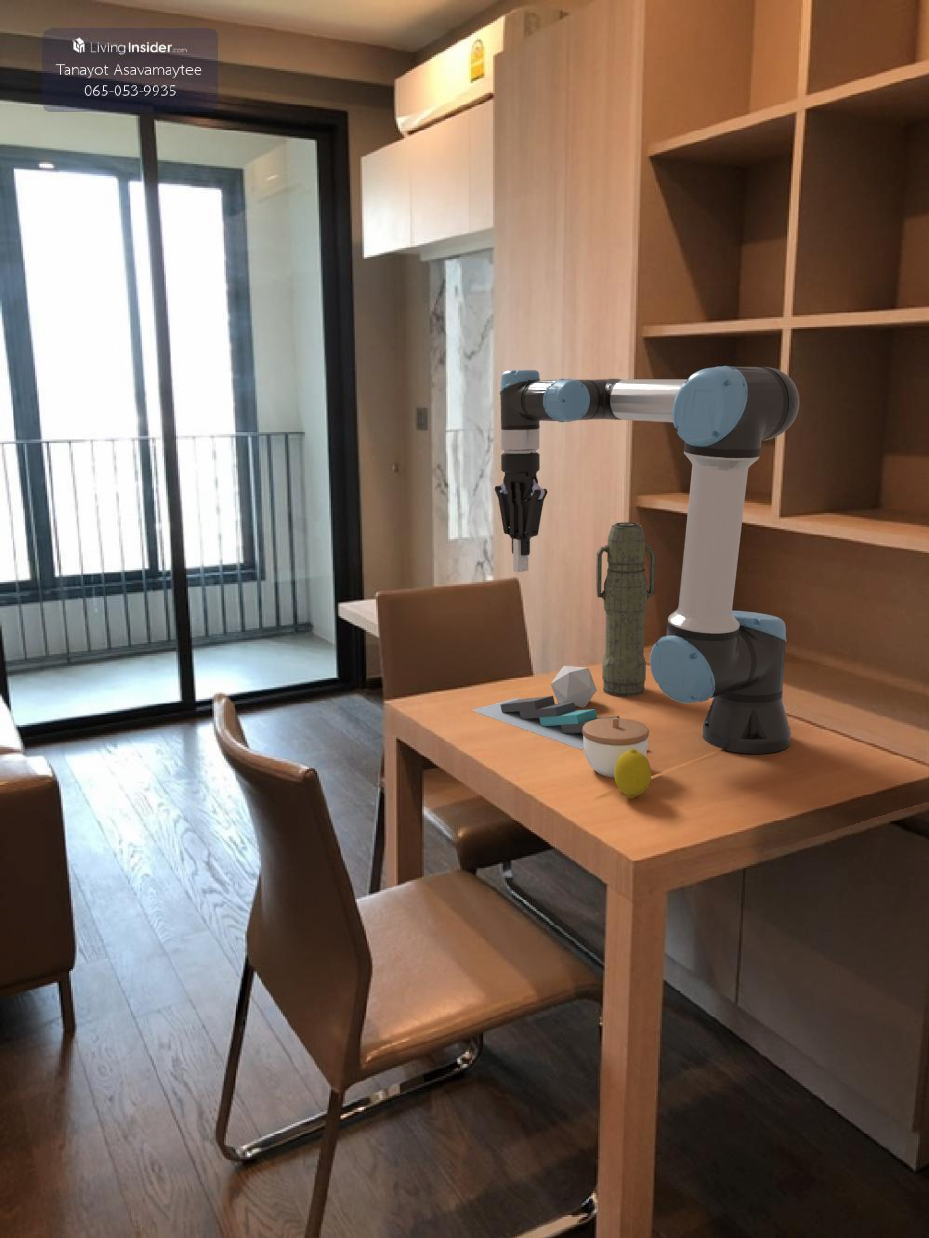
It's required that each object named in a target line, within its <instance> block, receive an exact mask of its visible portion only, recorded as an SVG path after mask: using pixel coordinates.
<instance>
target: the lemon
mask: <svg viewBox="0 0 929 1238" xmlns="http://www.w3.org/2000/svg"><path fill="white" fill-rule="evenodd" d="M649 761H650V760H648V758H647V757H645V755H643V754H642V753H641V752H639V751H636V750H635V749H631V750H630V751H626V752H624V753H623V754H622V755H620V756H619V758H618V760H617V762H616V765H615V771H614V776H615V777H614V781H615V785H616V787H617V789H618V790H619V791H621V793H622V794H625V795H627V796H628V797H629V798H630V799H634V798H636V797H637V796H639V795H642V794H643V793H644V792H646V791H647V789H648V788H649V785H650V783H651V778H652V771H651V765H650V762H649Z"/></svg>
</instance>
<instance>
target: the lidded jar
mask: <svg viewBox="0 0 929 1238" xmlns="http://www.w3.org/2000/svg"><path fill="white" fill-rule="evenodd" d="M649 737H650V729H649V727H648V726H647V725H646V724H645V723H643V722H640V721H637V720H634V719H629V718H622V717H620V718H617V717H614V718H602V719H596V720H592V721H589V722H587V723H586V724H585V725H584V726H583V745H584V749H583V750H584V752H583V753H584V755H585V759H586V761H587V763H588V764H589V766H590V767H591V768H592V769H593V770H594V771H595V772H597V773H598V774H599V775H601V776H604V777H606V778H607V777H608V778H615V776H614V771H615V765H616V762H617V760H618V758H619V756H620V755H622V754H623V753H624V752H626V751H630V750H631V749H635V750H636V751H639V752H641V753H642V754H643V755H645V757H646V756H647V751H648V747H649V746H648V745H649ZM646 758H647V757H646Z"/></svg>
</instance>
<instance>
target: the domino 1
mask: <svg viewBox="0 0 929 1238" xmlns="http://www.w3.org/2000/svg"><path fill="white" fill-rule="evenodd" d="M518 699H519V700H515V701H511V702H508V703H504V704H500V706H501V710H502V713H503V712H514V711H524V710H535V709H539V708H543V707H546V706H550V705H553V704H556V702H555V699H554V695H548V696H547V695H546V696H538V697H536V696H535V697H529V698H518Z"/></svg>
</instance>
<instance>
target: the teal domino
mask: <svg viewBox="0 0 929 1238" xmlns="http://www.w3.org/2000/svg"><path fill="white" fill-rule="evenodd" d="M597 713H598V712H597V709H596V708H594V709H580V710H576V711H572V712H569V713H566V714H562V715H559V716H554V717H542V718H540V723H541V726H550V725H565V724H579V723H582V722H585V721H588V720H592V719H595V718H598V715H597Z"/></svg>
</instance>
